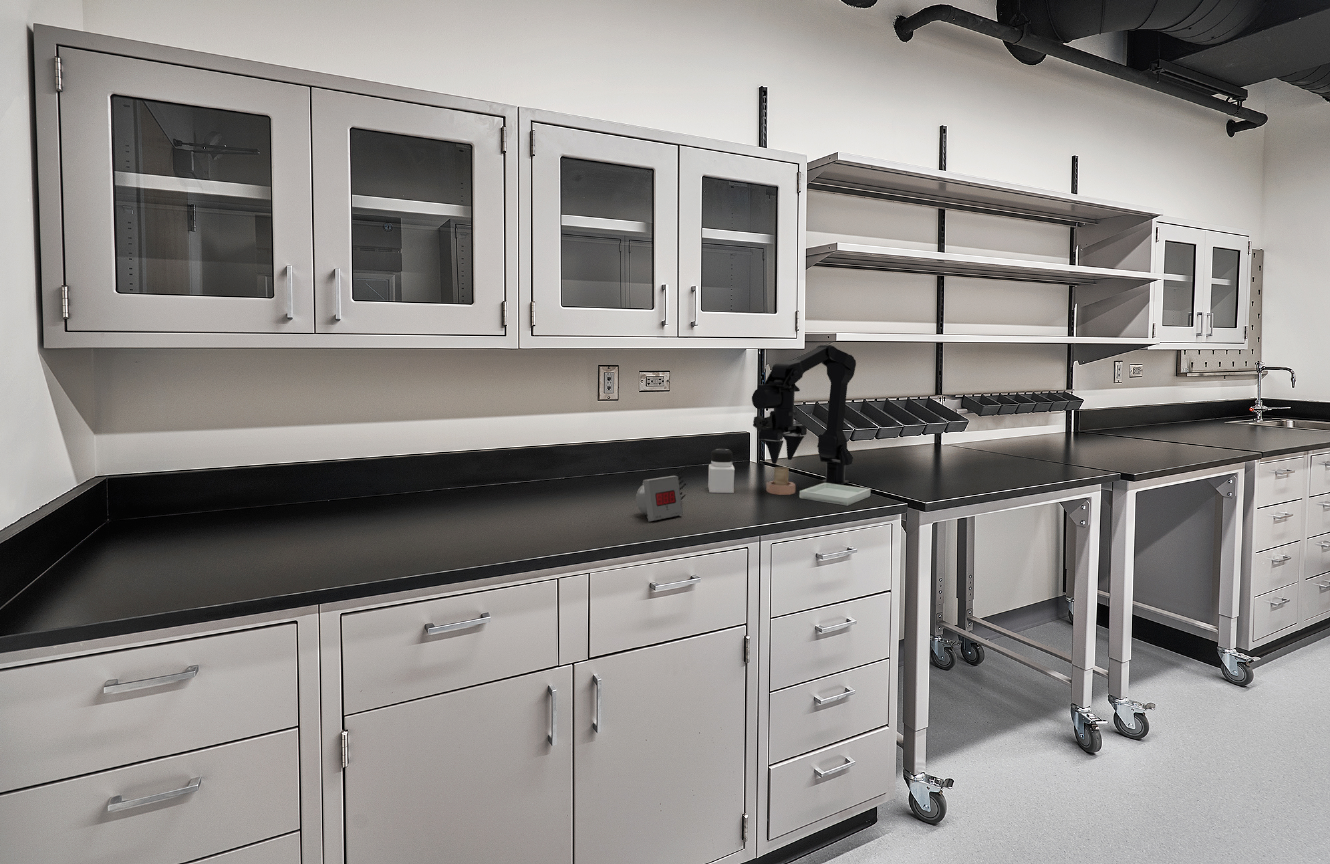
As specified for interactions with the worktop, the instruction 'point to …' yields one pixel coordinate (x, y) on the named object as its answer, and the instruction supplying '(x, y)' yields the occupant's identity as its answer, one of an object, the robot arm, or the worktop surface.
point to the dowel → (781, 476)
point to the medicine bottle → (721, 472)
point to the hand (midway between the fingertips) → (782, 461)
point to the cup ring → (780, 488)
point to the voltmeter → (661, 497)
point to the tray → (835, 493)
